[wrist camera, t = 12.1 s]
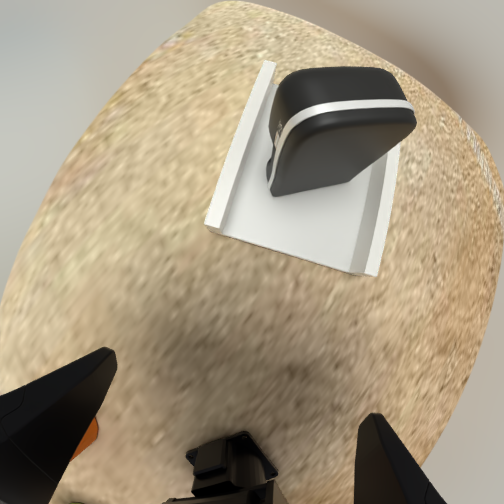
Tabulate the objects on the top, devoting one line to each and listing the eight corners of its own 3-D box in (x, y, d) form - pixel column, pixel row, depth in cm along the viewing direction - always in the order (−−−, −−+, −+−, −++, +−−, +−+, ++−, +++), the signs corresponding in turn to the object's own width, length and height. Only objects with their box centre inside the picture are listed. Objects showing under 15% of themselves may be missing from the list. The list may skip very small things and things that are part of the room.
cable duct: (354, 275, 22) (376, 277, 18) (210, 231, 22) (203, 224, 18) (383, 129, 23) (402, 110, 19) (261, 86, 23) (264, 59, 19)
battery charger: (337, 140, 22) (400, 56, 10) (352, 182, 21) (434, 119, 10) (256, 154, 21) (269, 57, 10) (268, 200, 21) (297, 130, 10)
